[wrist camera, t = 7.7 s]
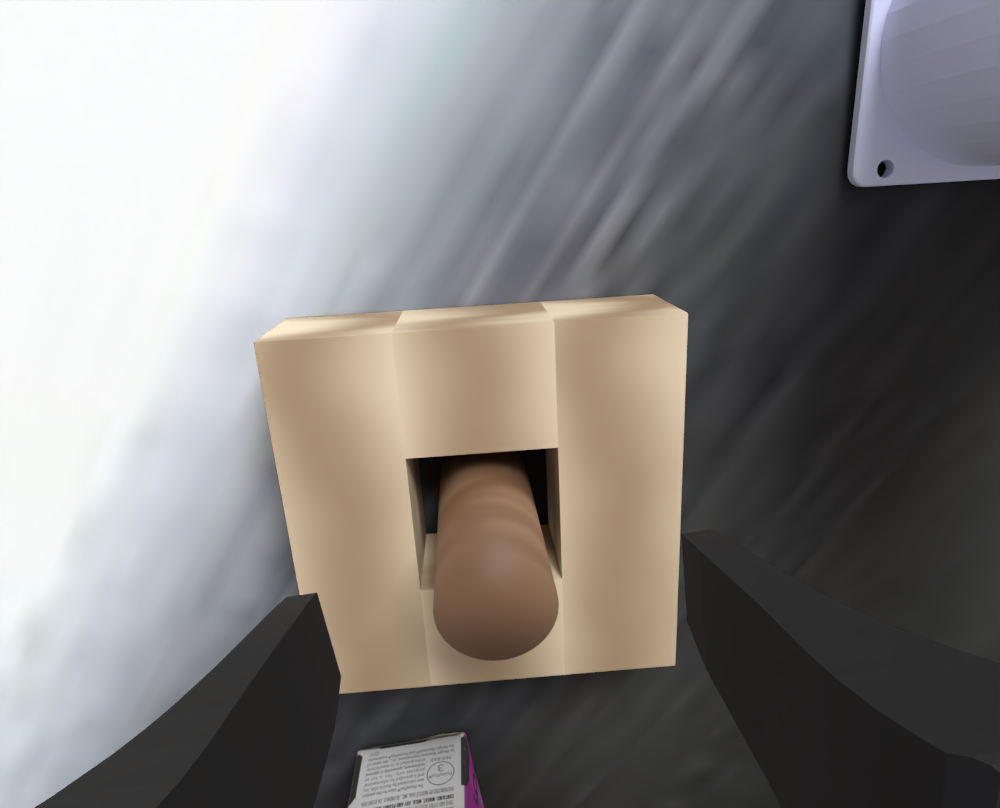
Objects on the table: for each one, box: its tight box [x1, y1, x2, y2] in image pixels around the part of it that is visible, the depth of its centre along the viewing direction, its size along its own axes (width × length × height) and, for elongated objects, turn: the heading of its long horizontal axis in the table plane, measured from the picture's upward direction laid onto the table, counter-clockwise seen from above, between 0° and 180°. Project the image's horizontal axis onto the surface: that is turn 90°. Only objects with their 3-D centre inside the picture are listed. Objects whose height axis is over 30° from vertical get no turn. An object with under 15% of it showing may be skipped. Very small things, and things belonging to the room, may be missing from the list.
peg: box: [433, 450, 559, 661], centre depth 19 cm, size 3×3×8 cm
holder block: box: [253, 294, 688, 694], centre depth 21 cm, size 12×12×4 cm
